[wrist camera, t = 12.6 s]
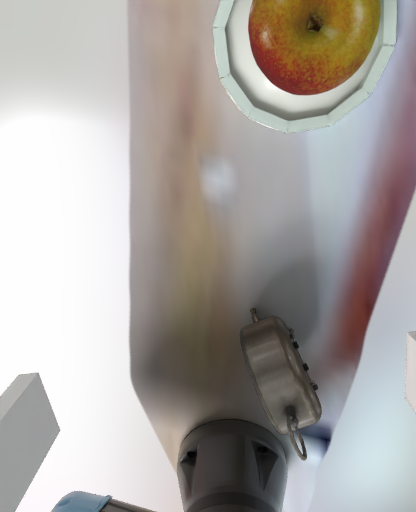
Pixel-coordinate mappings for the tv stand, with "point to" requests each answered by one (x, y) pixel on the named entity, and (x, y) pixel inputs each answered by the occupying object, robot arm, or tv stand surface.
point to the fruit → (312, 41)
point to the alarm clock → (280, 377)
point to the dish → (283, 103)
